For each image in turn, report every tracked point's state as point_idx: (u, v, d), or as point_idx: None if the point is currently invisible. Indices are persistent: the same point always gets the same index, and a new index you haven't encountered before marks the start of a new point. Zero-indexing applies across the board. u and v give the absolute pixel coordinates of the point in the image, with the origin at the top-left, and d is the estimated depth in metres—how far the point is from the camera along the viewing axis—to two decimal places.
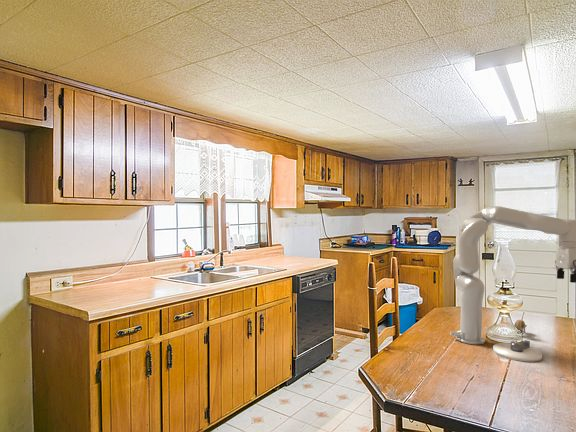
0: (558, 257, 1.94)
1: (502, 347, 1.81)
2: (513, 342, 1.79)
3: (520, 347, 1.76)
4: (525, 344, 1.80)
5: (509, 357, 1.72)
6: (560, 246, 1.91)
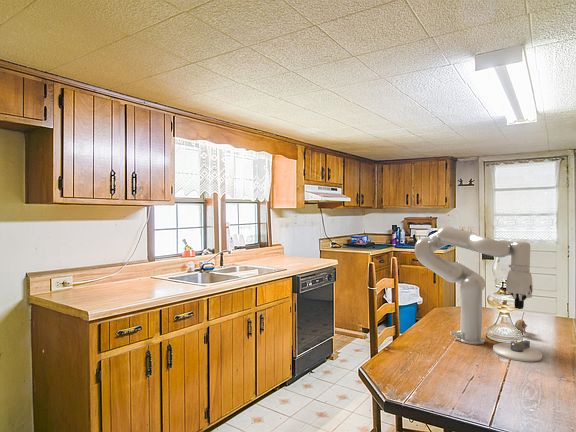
0: (510, 281, 1.84)
1: (502, 347, 1.81)
2: (513, 342, 1.79)
3: (520, 347, 1.76)
4: (525, 344, 1.80)
5: (509, 357, 1.72)
6: (515, 270, 1.81)
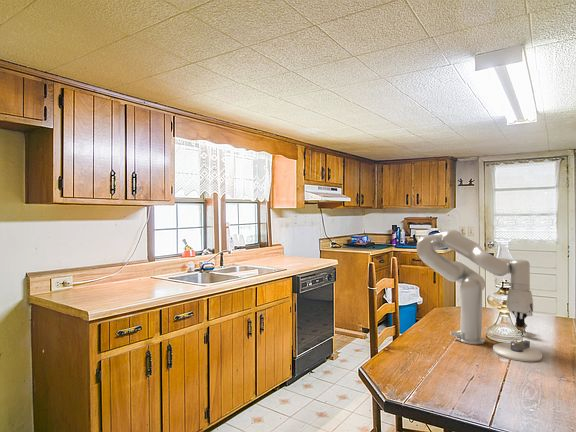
0: (511, 300, 1.84)
1: (502, 347, 1.81)
2: (513, 342, 1.79)
3: (520, 347, 1.76)
4: (525, 344, 1.80)
5: (509, 357, 1.72)
6: (515, 289, 1.81)
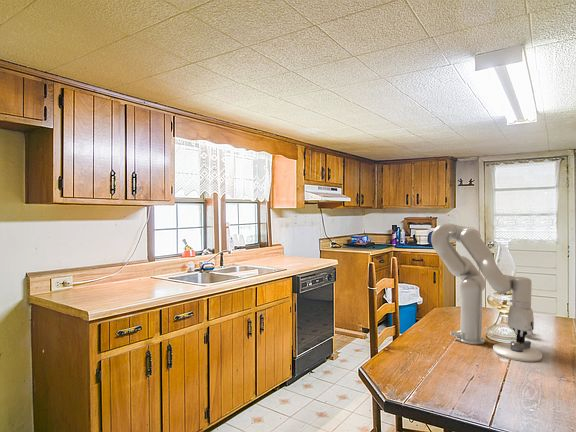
0: (511, 317, 1.84)
1: (502, 347, 1.81)
2: (513, 342, 1.79)
3: (519, 347, 1.76)
4: (526, 344, 1.79)
5: (509, 357, 1.72)
6: (516, 306, 1.81)
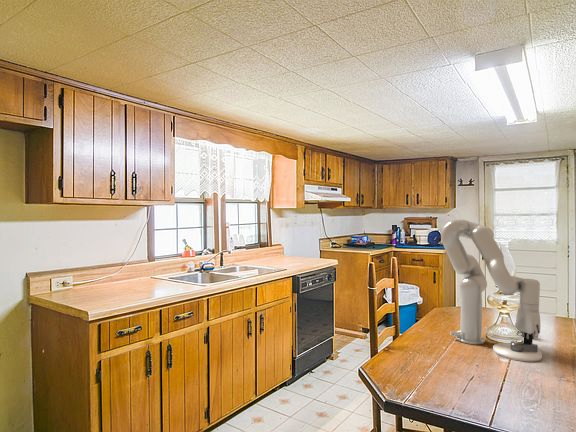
0: (519, 319, 1.81)
1: (502, 347, 1.81)
2: (514, 342, 1.80)
3: (515, 347, 1.76)
4: (529, 347, 1.76)
5: (509, 357, 1.72)
6: (522, 308, 1.78)
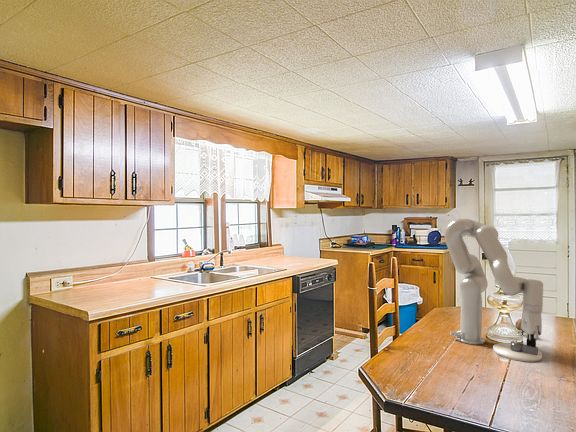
0: (522, 319, 1.81)
1: (502, 347, 1.81)
2: (516, 342, 1.79)
3: (512, 346, 1.77)
4: (528, 348, 1.74)
5: (509, 357, 1.72)
6: (523, 309, 1.78)
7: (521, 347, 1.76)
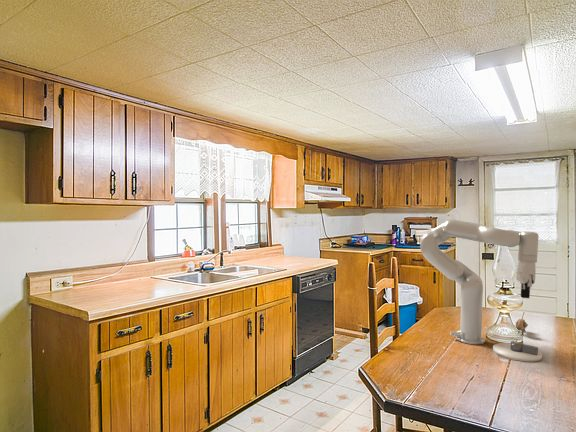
0: (518, 270, 1.88)
1: (502, 347, 1.81)
2: (516, 342, 1.79)
3: (512, 346, 1.77)
4: (528, 348, 1.74)
5: (509, 357, 1.72)
6: (518, 259, 1.85)
7: (521, 347, 1.76)
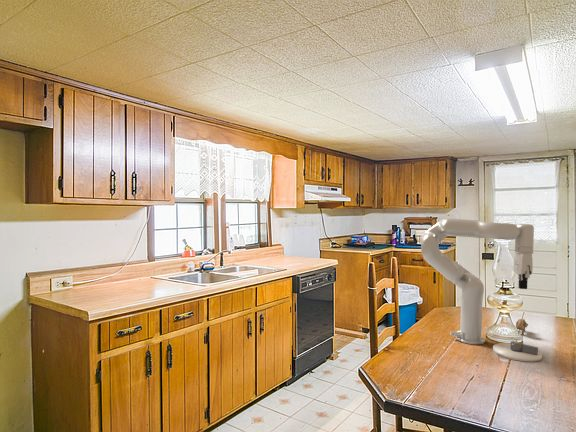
0: (515, 262, 1.92)
1: (502, 347, 1.81)
2: (516, 342, 1.79)
3: (512, 346, 1.77)
4: (528, 348, 1.74)
5: (509, 357, 1.72)
6: (515, 251, 1.89)
7: (521, 347, 1.76)
